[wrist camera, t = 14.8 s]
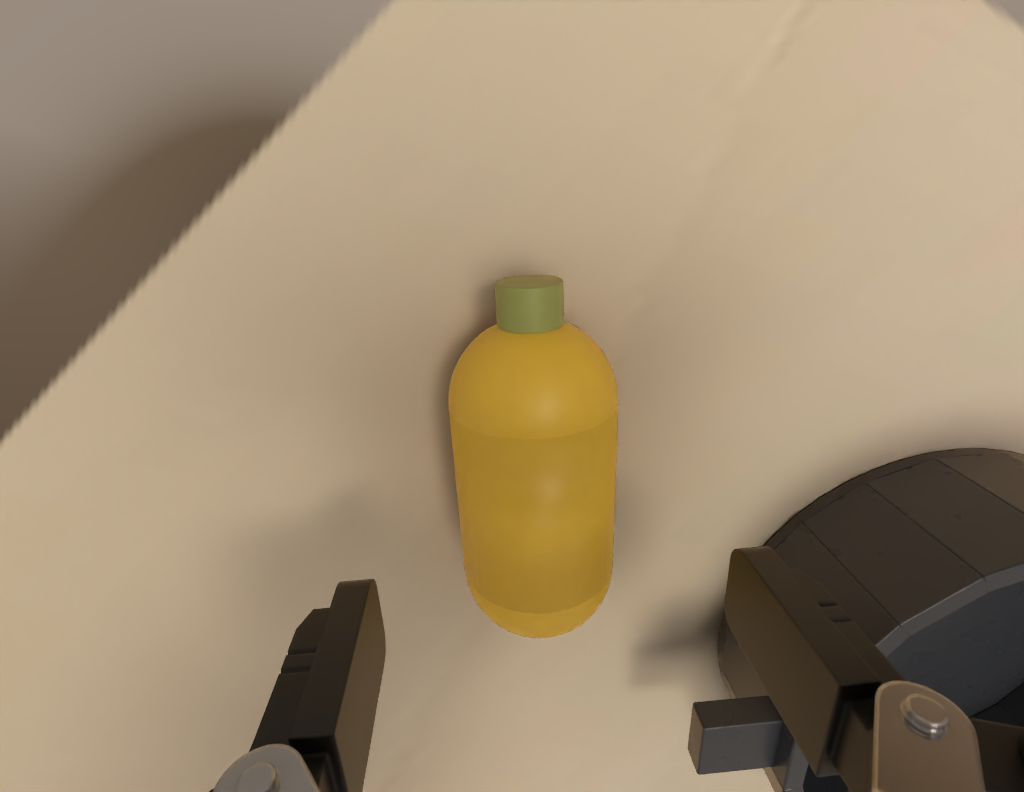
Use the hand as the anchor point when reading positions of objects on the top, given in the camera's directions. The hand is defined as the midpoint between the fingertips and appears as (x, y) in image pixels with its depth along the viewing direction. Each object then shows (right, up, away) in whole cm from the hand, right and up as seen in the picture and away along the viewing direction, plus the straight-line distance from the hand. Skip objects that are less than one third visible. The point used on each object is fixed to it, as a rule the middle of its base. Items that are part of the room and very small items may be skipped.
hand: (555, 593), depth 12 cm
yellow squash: (0, +3, +6) cm, 7 cm away
